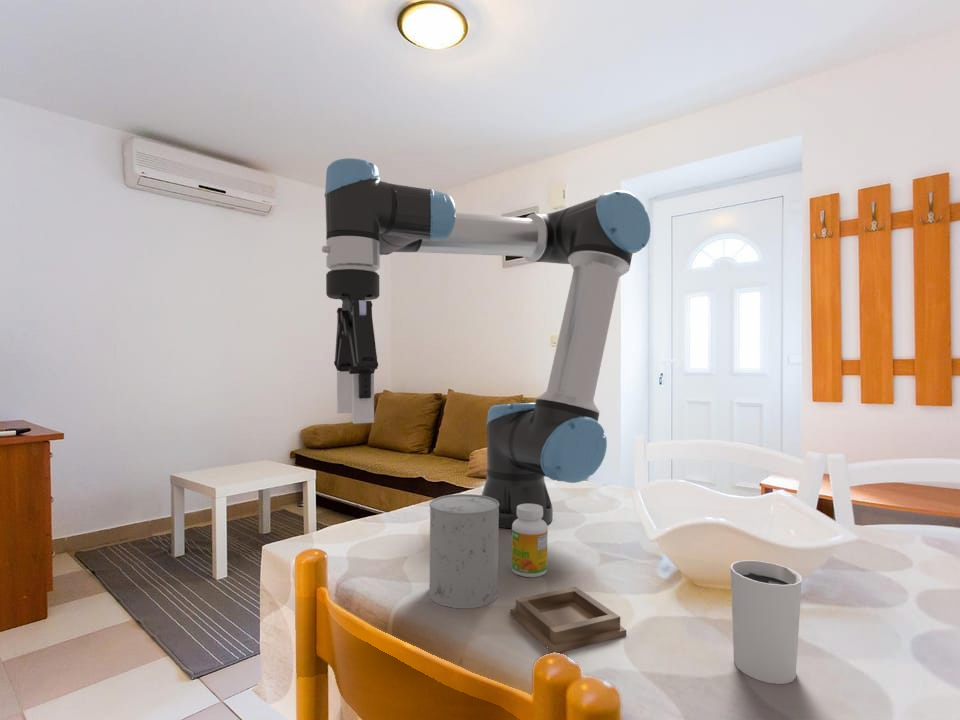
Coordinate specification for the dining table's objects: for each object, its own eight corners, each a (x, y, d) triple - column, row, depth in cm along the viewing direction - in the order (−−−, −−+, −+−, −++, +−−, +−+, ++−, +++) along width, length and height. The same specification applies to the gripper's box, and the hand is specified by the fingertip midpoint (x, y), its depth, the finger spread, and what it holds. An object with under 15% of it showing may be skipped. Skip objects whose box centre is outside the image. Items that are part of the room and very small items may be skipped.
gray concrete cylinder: (419, 584, 76) (420, 497, 76) (481, 574, 80) (482, 491, 80) (442, 614, 67) (443, 516, 67) (510, 601, 71) (511, 508, 71)
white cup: (731, 677, 54) (733, 579, 54) (727, 645, 60) (728, 556, 60) (807, 693, 52) (808, 589, 52) (794, 657, 58) (795, 565, 58)
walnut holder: (576, 599, 71) (576, 584, 71) (626, 635, 62) (626, 617, 62) (510, 613, 67) (510, 597, 67) (553, 653, 58) (553, 635, 58)
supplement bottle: (504, 571, 81) (504, 506, 81) (526, 561, 85) (526, 500, 85) (532, 581, 77) (533, 514, 77) (554, 570, 81) (554, 506, 81)
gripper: (316, 280, 87) (317, 410, 88) (340, 254, 65) (341, 429, 65) (362, 283, 90) (363, 408, 91) (400, 258, 68) (402, 426, 68)
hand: (354, 417), depth 78 cm, fingers open, 13 cm apart
